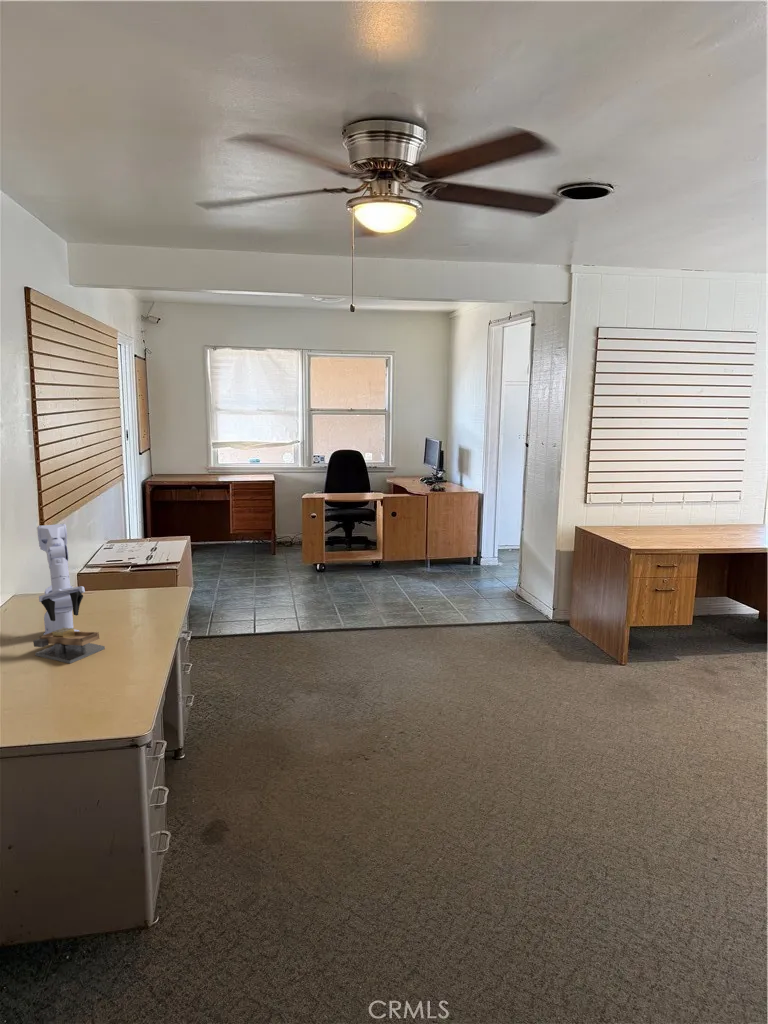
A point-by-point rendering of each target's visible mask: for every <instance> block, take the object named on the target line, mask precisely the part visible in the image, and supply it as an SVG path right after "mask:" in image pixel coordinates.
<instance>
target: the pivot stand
mask: <svg viewBox="0 0 768 1024" xmlns="http://www.w3.org/2000/svg"><path fill="white" fill-rule="evenodd" d="M105 647H106V646H105V645H101V644H95V643H92V642H90V643H88V644H85V645H83V646H81V645H64V644H60V643H55V644H53V645H52V646H50V647H49V646H48V648H47V647H46V648H44V649H42V650H41V649H40V650H39V651H35V656H36V657H38V658H39V657H41V658H44V659H49V660H53V661H57V662H62V663H65V664H66V663H67V664H73V663H75V662H77V661H79V660H82V659H84V658H87V657H89V656H91V655H94V654H96V653H99V652H100V651H103V650H105Z"/></svg>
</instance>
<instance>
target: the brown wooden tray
mask: <svg viewBox="0 0 768 1024" xmlns="http://www.w3.org/2000/svg"><path fill="white" fill-rule="evenodd" d="M74 633H75V636H72V637H69V638H65V637H53V634H52V632H51V633H48V634H46V635H40V636H39V638H38V639H34V640H33V641H32V642H33V643H32V644H33V647H36V648H43V647H44V648H45V647H47V646H49V644H50V645H54V644H55V643H60V644H64V645H81V646H83V645H85V644H88V643H92V642H93V643H94V642H95V641H98V640H99V639H100V633H99V631H98V632H97V631H96V632H95V631H80V630H79V631H74Z"/></svg>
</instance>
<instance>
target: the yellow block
mask: <svg viewBox="0 0 768 1024" xmlns="http://www.w3.org/2000/svg"><path fill="white" fill-rule="evenodd" d="M74 629H75V628H74V627H73V628H61V629H59V630H56V631H53V632H52V634H53V637H65V638H69V637H72V636H75V633H74Z"/></svg>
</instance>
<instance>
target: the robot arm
mask: <svg viewBox="0 0 768 1024" xmlns="http://www.w3.org/2000/svg"><path fill="white" fill-rule="evenodd" d="M36 530H37V532H36V533H37V540H38V545H39V548H40V550H41V551H44V552H45V553H46V559H47V563H48V568H49V575H50V583H51V585H49V586H48V587H47V588H45V590H44V594H41V595H39V596H38V602H40V604H41V605H42V606H43V607H44V608H45V611H46V612H45V613H44V616H43V621H44V623H43V624H44V633H43V635H46V634H48V633H51V632H53V631H56V630H59V629H61V628H74V617H73V616H79V610H80V605H81V603H82V600H83V598H84V595H83V593H85V592H86V590H85V587H84V586H82V585H80V586H75V587H73V585H71V581H70V580H71V579H70V572H69V570H70V569H69V563H68V562H69V560H70V559H69V558H70V557H69V548H68V546H67V545H68V530H67V524H65V523H59V524H58V523H57V524H46V525H40V524H39V525H38V526H37V527H36ZM74 631H80V630H79V629H75V628H74ZM43 635H42V636H43Z"/></svg>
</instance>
